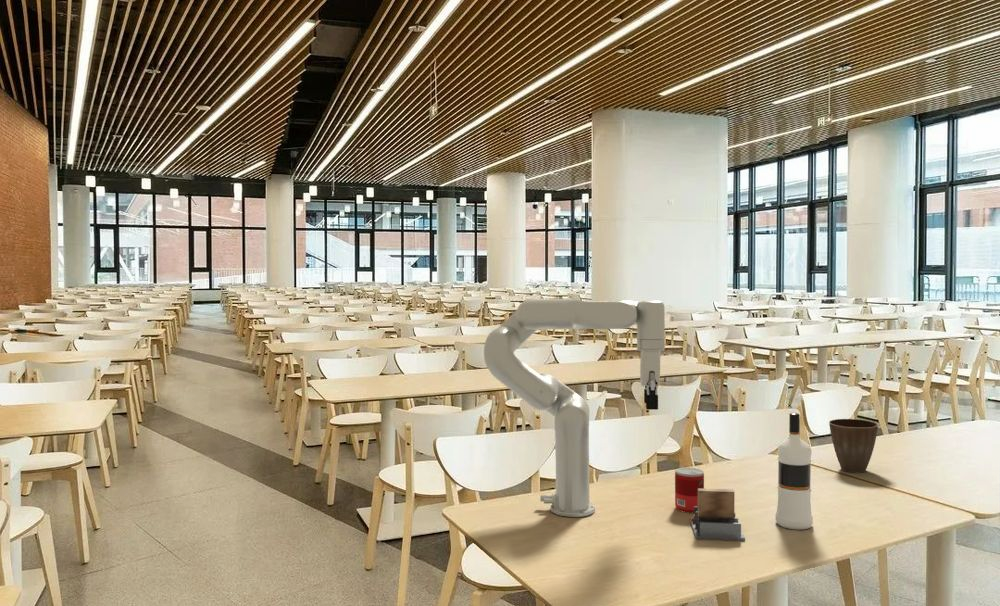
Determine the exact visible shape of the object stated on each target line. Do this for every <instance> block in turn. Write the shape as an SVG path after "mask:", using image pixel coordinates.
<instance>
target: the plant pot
mask: <svg viewBox="0 0 1000 606" xmlns="http://www.w3.org/2000/svg"><path fill="white" fill-rule="evenodd" d="M828 425H829V430H830V436H831V441H832V443H833V445H832V446H833V448H834V452H835V456H836V458H837V461H838V463H839V466H840V469H841V470H842V471H844V470H845V471H844V472H847V471H849V472H848V473H853V472H861V473H865V472H866V470H867V469H868V466H869V463H870V461H871V458H872V456H873V452H874V448H875V444H876V439H877V435H878V430H879V429H878V428H879V424H878V423H877V422H874V421H870V420H864V419H858V418H857V419H856V418H836V419H832V420H829V422H828Z"/></svg>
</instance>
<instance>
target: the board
mask: <svg viewBox="0 0 1000 606" xmlns="http://www.w3.org/2000/svg"><path fill="white" fill-rule="evenodd" d="M734 512H735V489H733V488H730V489H729V488H704V489H701V488H698V516H704V517H734Z"/></svg>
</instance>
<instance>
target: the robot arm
mask: <svg viewBox="0 0 1000 606" xmlns="http://www.w3.org/2000/svg"><path fill="white" fill-rule="evenodd" d="M665 309H666V308H665V303H664V302H663V301H661V300H641V301H638V300H637V301H635V300H627V299H619V300H616V301H587V300H585V301H584V300H581V299H575V298H570V299H569V298H567V299H566V298H565V299H534V298H533V299H532V298H531V299H530V298H529V299H527V300H524V301H522V302H521V303H520V304H519V305H518V306H517V309H516V310H515V311H514V312H513V313H512V314H511V315H510V316H509V317H508V318H507V319H506V320H505V321H504V322H503V323H502V324H500V325H499V326H498V327H497V328H495V329H493V330H492V331H491V332H490V333H488V335H487V336H486V339H485V340H484V341H485V342H484V347H483V358H484V362H485V365H486V367H487V369H488V371H489V372H490V374H491V375H492V376H493V377H494V378H496V380H498V382H500V383H501V384H503V385H504V386H505V387H506V388H508V389H509V390H510V391H512V392H513V393H514V394H515V395H516V396H518V397H519V398H520V399H522V400H523V401H524V402H526V403H527V404H528V405H529V406H531V408H533V409H535V410H537V411H546V412H548V413H549V414H551V415H552V416H554V439H555V440H554V442H555V443H554V444H555V446H554V447H555V450H554V451H555V492H554V493H552V494H551V495H550V494H548V495H547V494H540V499H539V500H540V502H541V503H542V502H543V504H548V505H549V504H551V505H550V511H551V513H553V514H554V513H555V515H557V516H561V517H568V518H581V517H587V516H590V515H592V514H594V512H596V506H595V505H594V504H593V503H591V502H590V408H589V404H588V402H587V400H585V399H584V398H583V397H582V396H581V395H579V394H578V393H577V392H575V391H574V390H573V389H571V388H570V387H569V386H567V385H566V384H565V383H563V382H562V381H560V380H559V379H558V378H556V377H555V376H553V375H551V374H549V373H538V372H537V371H535V370H534V369H533V368H532V367H530V366H529V365H528V364H527V363H525V362H523V361H522V360H520V359H519V358H518V357H517V356H516V355H515V352H516V351H517V349H518V348H519V347H520V346H522V345H523V344H524V343H525V342H526V341H527V340H529V338H530V337H531V336H532V335H533V334H534V333H535V332H536V331H538V330H540V331H541V330H544V331H545V330H577V331H578V330H624V329H628V328H631V327H632V326H636V348H637V351H639V352H640V359H639V360H640V362H639V363H640V365H639V366H640V367H639V369H640V371H639V372H640V373H639V374H640V378H639V379H640V380H639V382H640V386H641V388H644V389H643V390H644V391H643V392H644V393H643V395H644V396H643V398H644V399H643V401H644V404H645V409H646V410H650V411H651V410H658V409H659V394H658V388H659V386H660V378H661V352H664V351H665V348H666V347H665V345H666V343H665V342H666V341H665V339H666V337H665V327H666V325H665V322H666V321H665V317H666V316H665V315H666V314H665Z"/></svg>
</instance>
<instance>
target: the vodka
mask: <svg viewBox="0 0 1000 606" xmlns="http://www.w3.org/2000/svg"><path fill="white" fill-rule="evenodd" d="M788 415H789V420H788V421H789V422H788V424H789V426H788V428H789V433H788V434H789V435H788V438H786V439H784V440H783V441H781V442H780V443H779V444H778V447H777V461H778V463H777V464H778V465H777V466H778V468H777V470H778V471H777V473H778V476H777V477H778V479H777V481H778V483H777V487H776V488H777V495H778V497H777V507H776V513H775V521H776V523H777V525H779V526H780V527H782V528H785V529H787V528H788V530H794V531H795V530H796V531H802V530H803V531H804V530H808V529H810V528H812V526H813V524H814V519H813V514H812V506H811V505H812V504H811V492H812V487H811V470H812V469H811V468H812V467H811V466H812V465H811V463H812V448H811V446H810V445H809V444H808V443H807V442H805V440H803V439H802V438H801V437H800V436H801V435H800V428H801V427H800V426H801V425H800V419H801V418H800V413H798V412H797V413H796V412H790V413H789V414H788Z"/></svg>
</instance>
